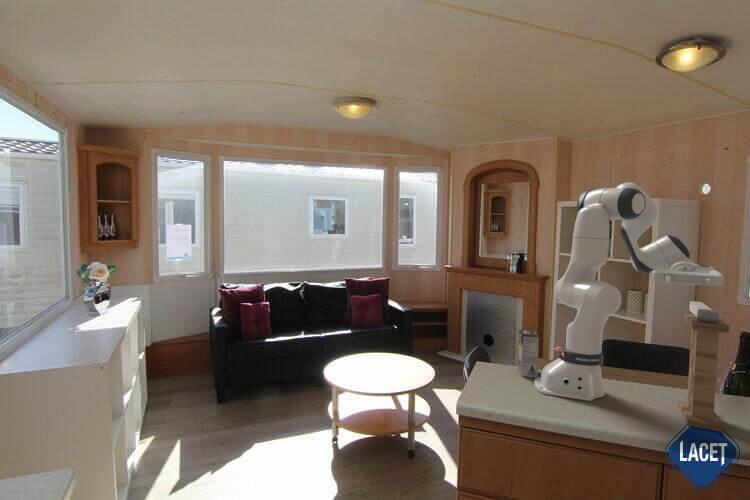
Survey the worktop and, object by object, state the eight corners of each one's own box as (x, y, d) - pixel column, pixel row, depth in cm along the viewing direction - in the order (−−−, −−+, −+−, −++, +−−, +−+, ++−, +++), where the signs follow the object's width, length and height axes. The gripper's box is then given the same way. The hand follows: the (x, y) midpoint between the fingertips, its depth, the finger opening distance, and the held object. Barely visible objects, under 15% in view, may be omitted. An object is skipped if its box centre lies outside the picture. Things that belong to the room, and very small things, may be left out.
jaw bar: (720, 324, 120) (721, 313, 120) (698, 322, 122) (699, 311, 122) (704, 311, 138) (705, 302, 138) (685, 309, 140) (686, 300, 140)
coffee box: (517, 368, 171) (518, 328, 170) (534, 369, 169) (535, 329, 168) (520, 376, 162) (521, 334, 161) (538, 377, 160) (539, 335, 159)
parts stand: (722, 431, 120) (729, 325, 118) (687, 425, 123) (693, 322, 121) (710, 412, 132) (716, 316, 130) (679, 407, 136) (684, 313, 134)
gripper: (650, 263, 162) (653, 270, 150) (718, 267, 152) (727, 275, 140) (649, 279, 163) (651, 288, 151) (716, 284, 153) (725, 294, 142)
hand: (688, 282), depth 146 cm, fingers open, 8 cm apart
